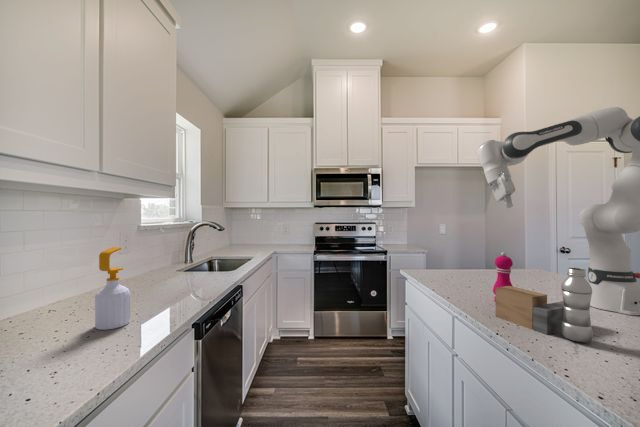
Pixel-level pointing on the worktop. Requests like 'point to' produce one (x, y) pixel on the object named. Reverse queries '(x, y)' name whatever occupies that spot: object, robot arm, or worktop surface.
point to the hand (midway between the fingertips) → (510, 207)
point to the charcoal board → (548, 317)
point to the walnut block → (518, 305)
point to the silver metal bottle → (576, 306)
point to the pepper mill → (502, 272)
